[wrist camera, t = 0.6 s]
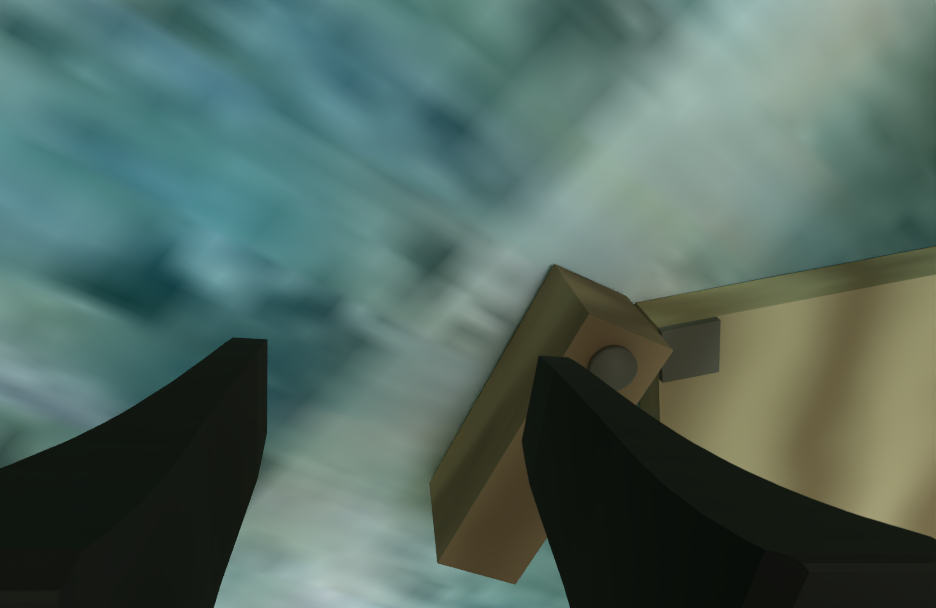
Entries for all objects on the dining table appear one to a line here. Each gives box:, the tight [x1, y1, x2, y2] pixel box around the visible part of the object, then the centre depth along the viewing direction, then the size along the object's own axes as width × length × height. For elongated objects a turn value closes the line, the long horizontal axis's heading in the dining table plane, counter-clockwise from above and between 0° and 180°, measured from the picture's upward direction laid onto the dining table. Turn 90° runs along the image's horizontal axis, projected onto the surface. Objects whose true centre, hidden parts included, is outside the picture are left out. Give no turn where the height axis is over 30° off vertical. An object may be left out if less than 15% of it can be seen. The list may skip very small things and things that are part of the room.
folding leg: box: [430, 264, 673, 584], centre depth 22 cm, size 3×10×4 cm, turn 153°
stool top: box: [636, 246, 936, 539], centre depth 26 cm, size 13×20×4 cm, turn 8°
